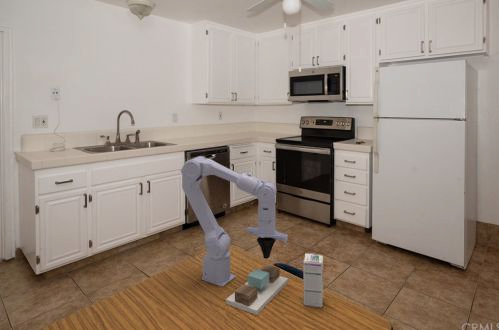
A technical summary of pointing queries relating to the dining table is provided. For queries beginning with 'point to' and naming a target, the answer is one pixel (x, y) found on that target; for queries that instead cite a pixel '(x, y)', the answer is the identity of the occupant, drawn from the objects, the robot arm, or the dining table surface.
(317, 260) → the syrup box
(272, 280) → the far walnut button
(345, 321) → the dining table surface
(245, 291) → the brown ledged cube
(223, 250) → the robot arm
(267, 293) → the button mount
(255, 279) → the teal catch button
